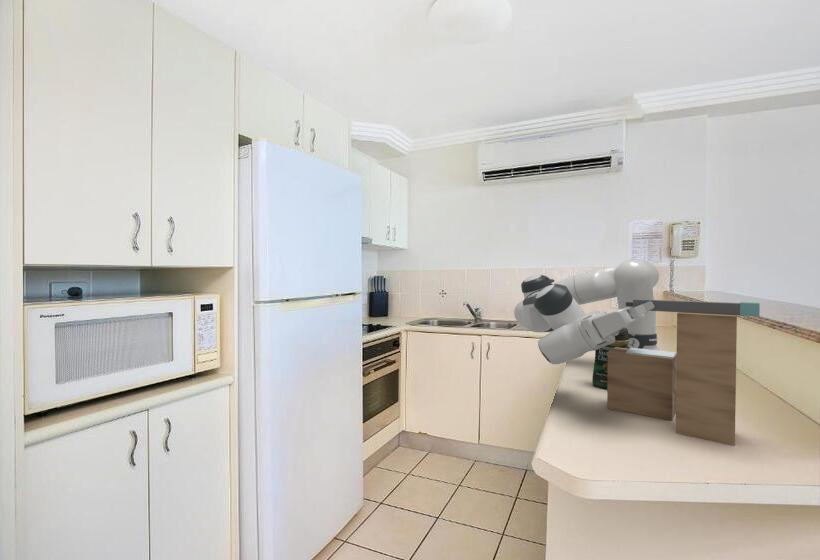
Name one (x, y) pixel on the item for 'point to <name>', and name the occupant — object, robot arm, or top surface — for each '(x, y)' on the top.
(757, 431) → the top surface
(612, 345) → the coffee jar
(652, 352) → the notepad
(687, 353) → the walnut stand
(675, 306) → the marker
